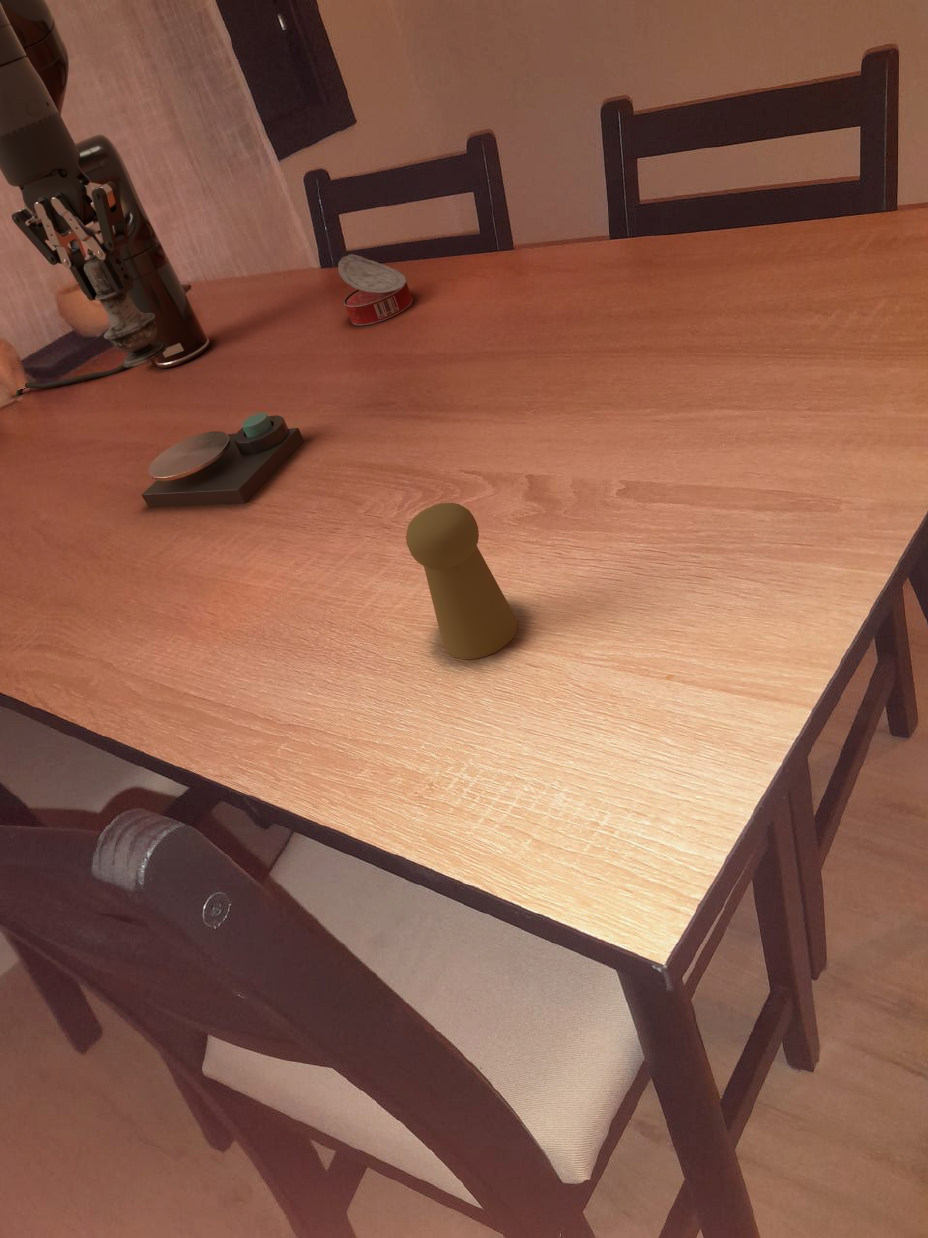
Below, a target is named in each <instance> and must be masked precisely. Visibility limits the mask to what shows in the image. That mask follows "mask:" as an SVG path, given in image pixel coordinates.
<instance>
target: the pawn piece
mask: <svg viewBox="0 0 928 1238" xmlns="http://www.w3.org/2000/svg"><path fill="white" fill-rule="evenodd" d="M479 537H480V534H479V527H478V523H477V520H476V519H475V517H474V515H473V513H472V512H471V511H470V510H469V509H468V508H466V507H465V506H463V505H462V504H460V503H456V502H444V503H443V502H442V503H437V504H433V505H431V506H429V507H427V508H425V509H423V510H422V511H421V510H420V512H418V514H416V515H415V516H414V517H413V518H411V520H410V521H409V523H408V525H407V530H406V533H405V542H406V546H407V548H408V550H409V552H410V556H412V559H414V560H415V561H416V562H417V563H418V564H419V565H422V566H423V568H424V572H425V573H424V574H425V577H426V581H427V585H428V589H429V593H430V598H431V601H432V605H433V609H434V614H435V617H436V622H437V625H438V631H439V634H440V639H441V642H442V646H443V649H444V651H445V652H446V653H447V654H448V655H450V656H451V657H453V658H456V659H459V660H476V659H481V658H486V657H488V656H490V655H493V654H495V653H497V652H499V651H500V650H502V649H503V648H504V647H506V646H507V645H508V644H509V643H510V642H511V641H512V640H513V639H514V638H515V635H516V634H517V631H518V626H519V621H518V619H517V617H516V615H515V613H514V611H513V610H512V608H511V606H510V604H509V602H508V600H507V599H506V597H505V595H504V593H503V591H502V589H501V587H500V586H499V584H498V582H497V580H496V578H495V576H494V574H493V573H492V571H491V569H490V567H489V566H488V563H487V562H486V559H485V558H484V555H482V553H481V551H480V548H479V547H478V544H479V539H480V538H479Z"/></svg>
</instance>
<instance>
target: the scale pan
mask: <svg viewBox="0 0 928 1238" xmlns="http://www.w3.org/2000/svg"><path fill="white" fill-rule="evenodd" d="M227 434H228V433H226V432H224V431H221V430H214V431H213V430H212V431H208V432H202V433H199V434H195V435H193V436H190V437H187V438H185V439H183V440H181V441H178V442H177V443H174V444H173V445H171V446H170V447H168V448H167V449H165V450H164V451H162V452H161V453H160V454H159V455H158V456H156V457H155V458H154V459H153V461H152V462H151V464H150V465H149V467H148V474H149V476H150V477H151V479H153V480H154V481H170V480H175V479H179V478H182V477H185V476H188V475H190V474H193V473H195V472H197V471H199V470H201V469H203V468H205V467H207V466H208V465H210V464H211V463H213V462H214V461H216V460H217V459H218V458H219V457H221V456H222V455H223V454H224V453H225V452H226V450H227V449H228V447H229V446H230V438H229V436H228V435H227Z"/></svg>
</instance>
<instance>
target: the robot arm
mask: <svg viewBox="0 0 928 1238" xmlns="http://www.w3.org/2000/svg"><path fill="white" fill-rule="evenodd" d="M69 64H70V62H69V54H68V50H67V46H66V45H65V41H64V40H63V37H62V35H61V32H60V30H59V27H58V25H57V23H56V20H55V17H54V15H53V13H52V10H51V7H50V6H49V4H48V2H47V1H46V0H0V172H1V173H2V175H3V177H4V179H5V180H6V182H7V184H8V185H10V186H11V187H18V188H19V189H20V192H21V196H22V200H23V203H24V205H23V206H22V207H21V208H20V209H18V210H17V211H15V212H14V213H12V214H11V219H12V221H13V223H14V224H15V225H16V226H17V228H18V229H19V230H20V231H21V232H22V234H23V235H24V236H25V237H26V238H27V239H28V240H29V241H30V243H31V244H32V245H33V246H34V247H35V248H36V249H37V250H38V251H39V253H40V254H41V255H42V257H44V259H45V260H46V261H47V262H48V263H49V264H50V265H52V266H55V265H57V264H59V265H63V267H65V268H66V269H69V270H70V272H71V274H72V276H73V278H74V279H75V281H76V283H77V285H78V286H79V288H80V291H81V292H82V293H83V294H84V295H85V297H86V298H87V299H88V300H89V301H91V302H93V301H97V300H96V299H95V297H96V295H97V293H96V291H95V290H94V288H93V286H92V284H91V282H90V280H89V279H88V277H87V275H86V273H85V271H84V265H85V263H86V262H87V261H88V259H86V258H87V255H86V254H87V253H86V252H85V248H84V246H83V243H82V242H85V243H86V244H87V245H88V247H89V249H90V250H91V251H93V254H94V255H96V256H97V257H98V258H99V259H100V260H101V261H100V262H99V263H100V265H101V267H102V268H103V270H104V272H105V274H106V276H107V278H108V280H109V281H110V283H111V285H112V287H113V289H114V291H115V293H116V294H118V295H121V294H125V293H127V292H128V294H129V296H130V298H131V300H132V302H133V304H134V305H135V306H136V308H137V309H138V310H139V311H140V312H143V313H153V314H154V315H155V318H154V321H155V323H156V328H157V333H156V337H155V339H154V341H153V342H151V343H155V342H160V343H165V344H167V346H168V347H167V349H166V351H164V352H163V353H162V354H161V355H159V356H158V357H156V358H154V359H152V360H150V363H151V364H152V366H153V367H154V366H155V367H158V368H160V369H166V368H167V369H168V368H171V367H176V366H178V365H181V364H184V363H186V362H188V361H190V360H193V359H195V358H197V357H198V356H200V355H201V354H202V353H204V352H205V351H206V350H207V349H209V347H210V346H211V341H210V339H209V337H208V336H207V334H206V333H205V330H204V328H203V326H202V324H201V322H200V320H199V318H198V315H197V314H196V311H195V310H194V308H193V305H192V304H191V302H190V300H189V298H188V296H187V293H186V291H185V289H184V287H183V285H182V284H181V283H182V282H181V281H180V279H179V277H178V275H177V273H176V271H175V269H174V267H173V265H172V263H171V261H170V259H169V257H168V255H167V253H166V251H165V249H164V247H163V244H162V242H161V241H160V238H159V237H158V235H157V233H156V230H155V229H154V226H153V224H152V223H151V222H152V221H151V220H150V219H149V216H148V214H147V212H146V210H145V208H144V206H143V204H142V202H141V199H140V197H139V195H138V193H137V190H136V188H135V186H134V183H133V181H132V178H131V175H130V174H129V172H128V169H127V166H126V165H125V162H124V161H123V158H122V156H121V154H120V152H119V151H118V149H117V148H116V146H115V144H114V143H113V142H112V141H111V139H110V138H109V137H108V136H106V135H105V134H101V133H99V134H94V135H92V136H89V137H86V138H84V139H81V140H80V141H77V142H75V141H74V139H73V137H72V135H71V133H70V131H69V129H68V126H66V123H65V121H64V120H63V117H62V113H63V107H64V102H65V97H66V92H67V86H68V79H69V70H70V68H69V67H70V65H69ZM91 223H93V224H92V225H91V226H88V225H89V224H91ZM97 235H98V236H99V238H100V240H99V238H98V237H97ZM47 242H49V244H50V245H51V246H53V247H54V249H52V248H51V246H50V245H49V244H48V243H47ZM69 245H70V247H69ZM151 343H150V344H151ZM130 353H131V352H127V354H126V356H127V355H129V354H130ZM126 369H128V367H124V366H123V363H122V364H120V365H118V366H117V367H115V368H113V369H109V370H105V371H99V372H92V373H86V374H82V375H77V376H74V377H69V378H64V379H60V380H55V381H50V382H45V383H44V382H43V383H42V382H24V383H25V387H26V388H24V389H20V390H18V389H16V393H15V395H16V397H20V396H22V394H23V392H24V390H25V389H49V388H56V387H59V386H64V385H69V384H70V385H71V384H75V383H78V382H82V381H83V382H84V381H87V380H92V379H98V378H99V379H100V378H105V377H109V376H111V375H114V374H118V373H121V372H124V370H126Z"/></svg>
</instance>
